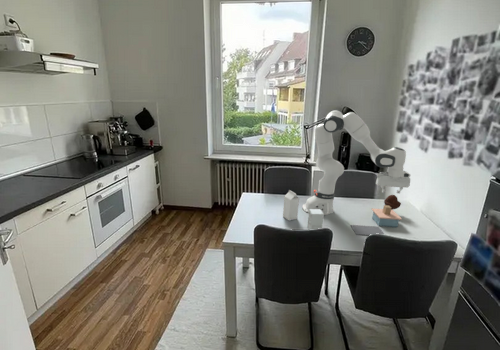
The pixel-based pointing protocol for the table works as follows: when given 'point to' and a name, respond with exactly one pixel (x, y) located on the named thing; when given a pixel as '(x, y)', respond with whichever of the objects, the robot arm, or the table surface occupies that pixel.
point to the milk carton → (290, 206)
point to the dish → (385, 221)
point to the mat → (366, 230)
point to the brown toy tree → (392, 202)
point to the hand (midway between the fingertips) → (390, 192)
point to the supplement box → (315, 219)
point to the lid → (386, 213)
